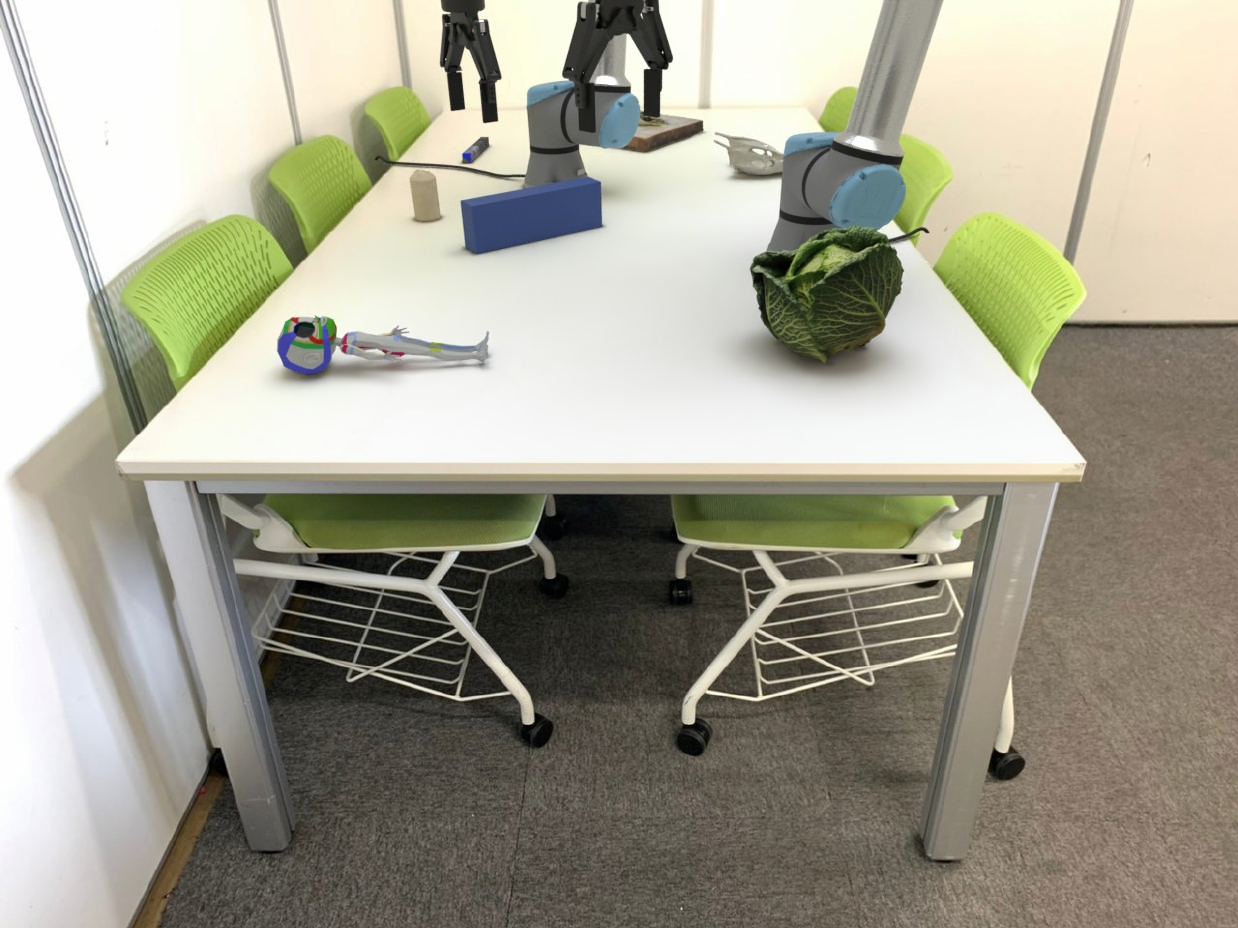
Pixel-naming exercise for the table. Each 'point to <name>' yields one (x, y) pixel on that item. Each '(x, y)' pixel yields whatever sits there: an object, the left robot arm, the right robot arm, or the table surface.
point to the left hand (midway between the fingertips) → (473, 116)
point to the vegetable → (828, 290)
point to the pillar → (475, 149)
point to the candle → (425, 195)
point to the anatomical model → (752, 156)
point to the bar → (531, 214)
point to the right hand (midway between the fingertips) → (620, 124)
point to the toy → (358, 345)
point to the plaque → (662, 131)
